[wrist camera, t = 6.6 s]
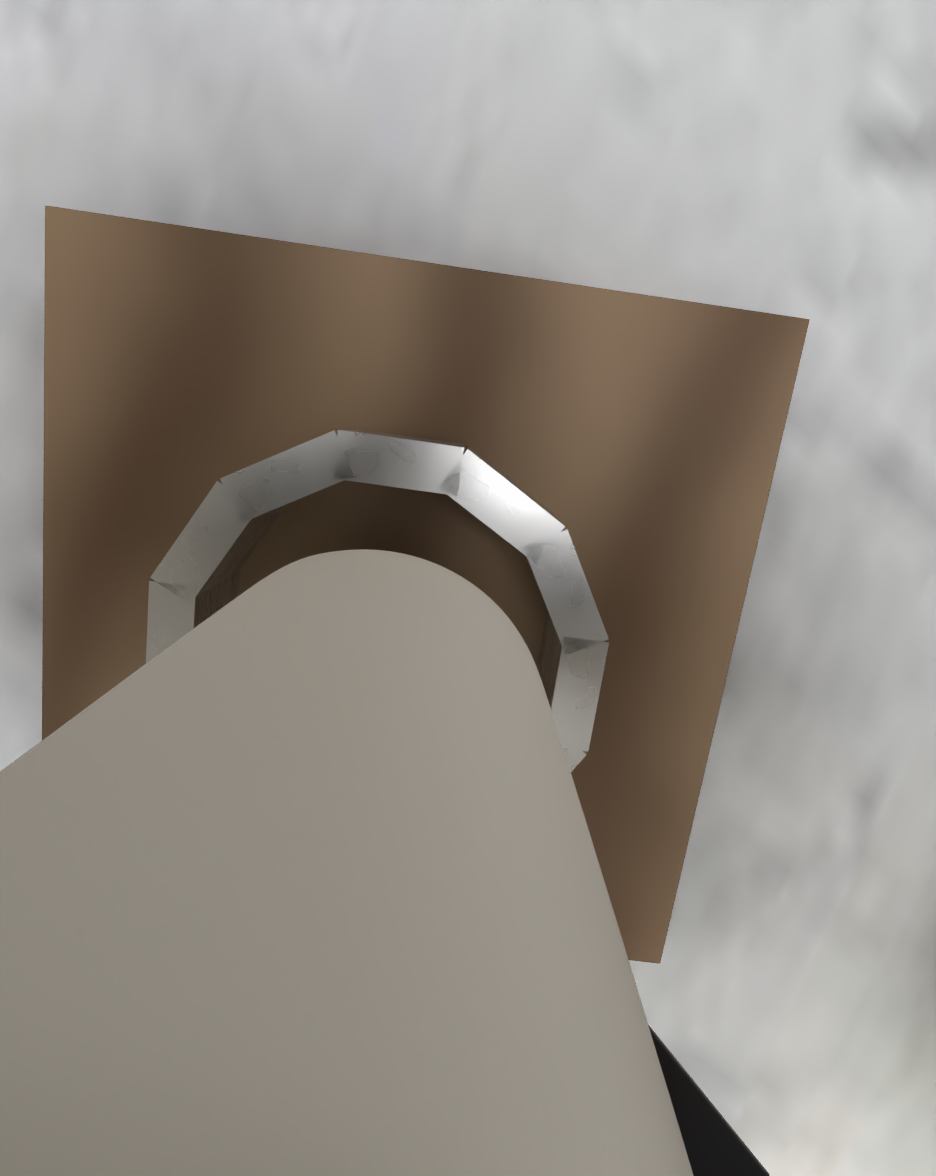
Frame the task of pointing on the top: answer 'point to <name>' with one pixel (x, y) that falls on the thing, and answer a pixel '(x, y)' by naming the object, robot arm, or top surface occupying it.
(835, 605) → the top surface
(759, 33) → the top surface
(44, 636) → the base plate
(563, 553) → the ring collar
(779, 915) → the top surface
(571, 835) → the can
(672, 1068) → the robot arm
